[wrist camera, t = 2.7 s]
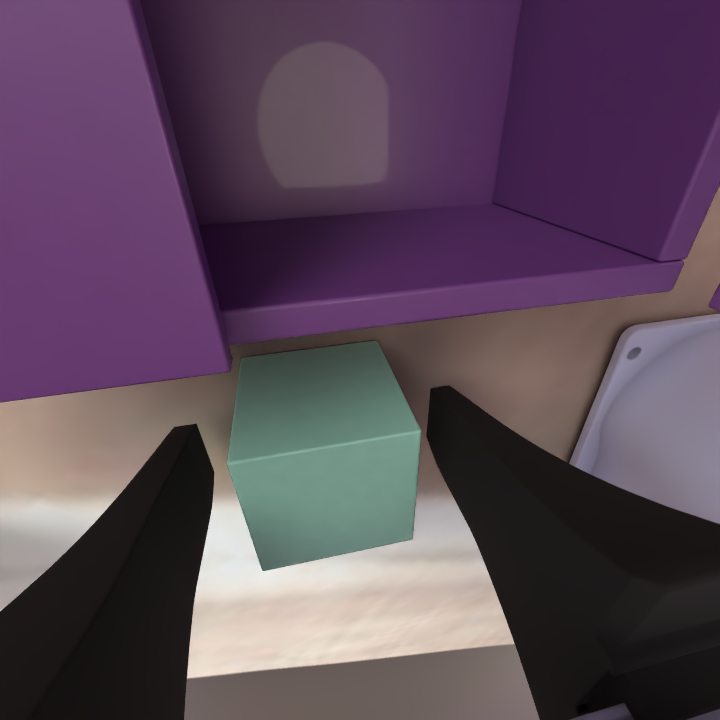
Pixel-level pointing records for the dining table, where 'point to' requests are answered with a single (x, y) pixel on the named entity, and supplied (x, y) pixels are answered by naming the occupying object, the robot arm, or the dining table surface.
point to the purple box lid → (715, 300)
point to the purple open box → (334, 170)
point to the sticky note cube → (323, 453)
